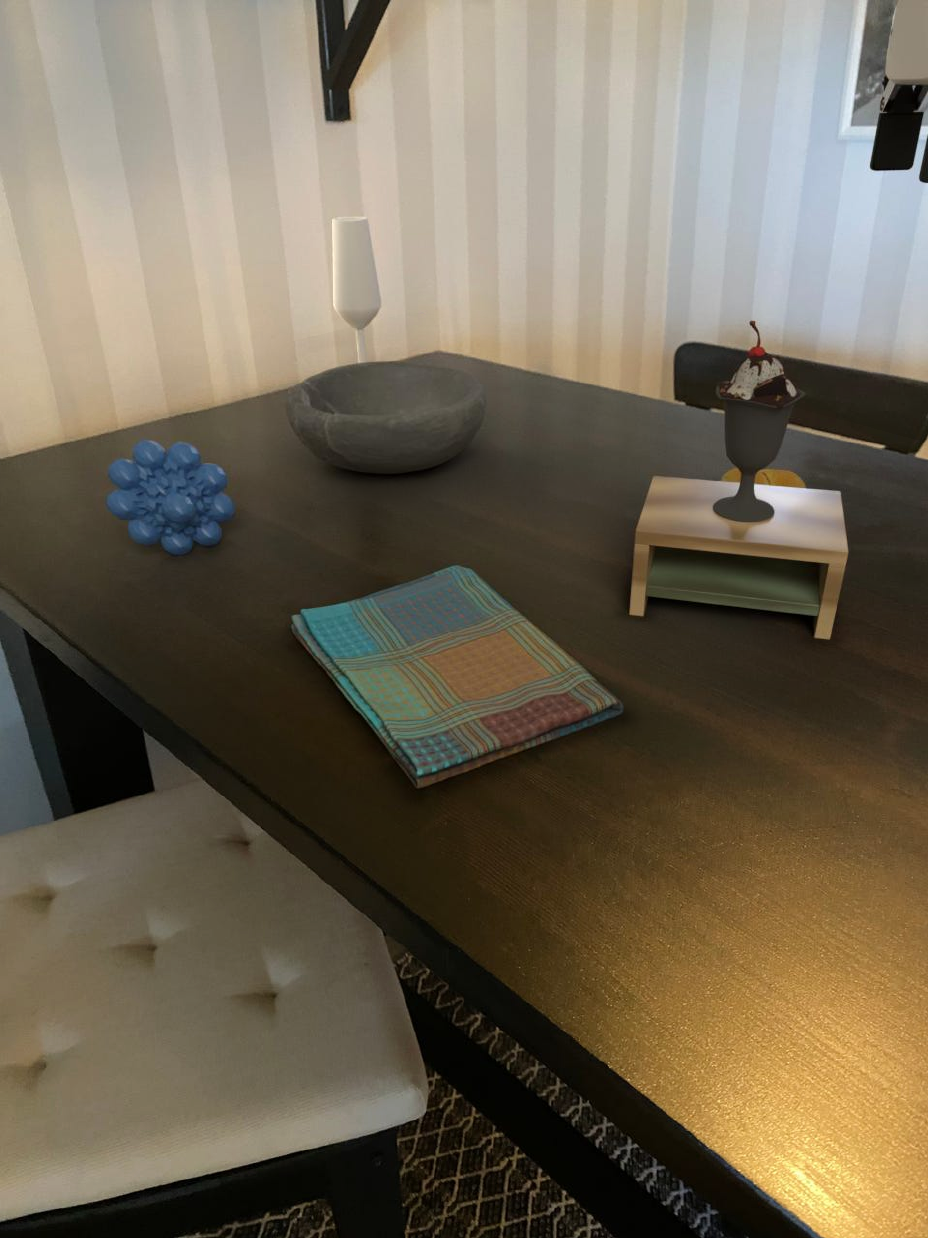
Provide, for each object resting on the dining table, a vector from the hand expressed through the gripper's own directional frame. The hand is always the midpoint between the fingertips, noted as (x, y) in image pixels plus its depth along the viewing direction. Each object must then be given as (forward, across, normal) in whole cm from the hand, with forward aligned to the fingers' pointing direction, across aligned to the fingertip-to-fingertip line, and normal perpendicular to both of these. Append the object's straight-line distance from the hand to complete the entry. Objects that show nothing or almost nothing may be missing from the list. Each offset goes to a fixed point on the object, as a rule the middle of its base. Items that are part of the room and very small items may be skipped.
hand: (914, 175), depth 67 cm
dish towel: (+32, -18, +35) cm, 51 cm away
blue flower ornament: (+32, +2, +62) cm, 70 cm away
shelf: (+32, -6, +11) cm, 35 cm away
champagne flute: (+32, +54, +51) cm, 81 cm away
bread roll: (+32, +13, +4) cm, 35 cm away
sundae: (+24, -6, +11) cm, 27 cm away
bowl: (+32, +26, +44) cm, 61 cm away
